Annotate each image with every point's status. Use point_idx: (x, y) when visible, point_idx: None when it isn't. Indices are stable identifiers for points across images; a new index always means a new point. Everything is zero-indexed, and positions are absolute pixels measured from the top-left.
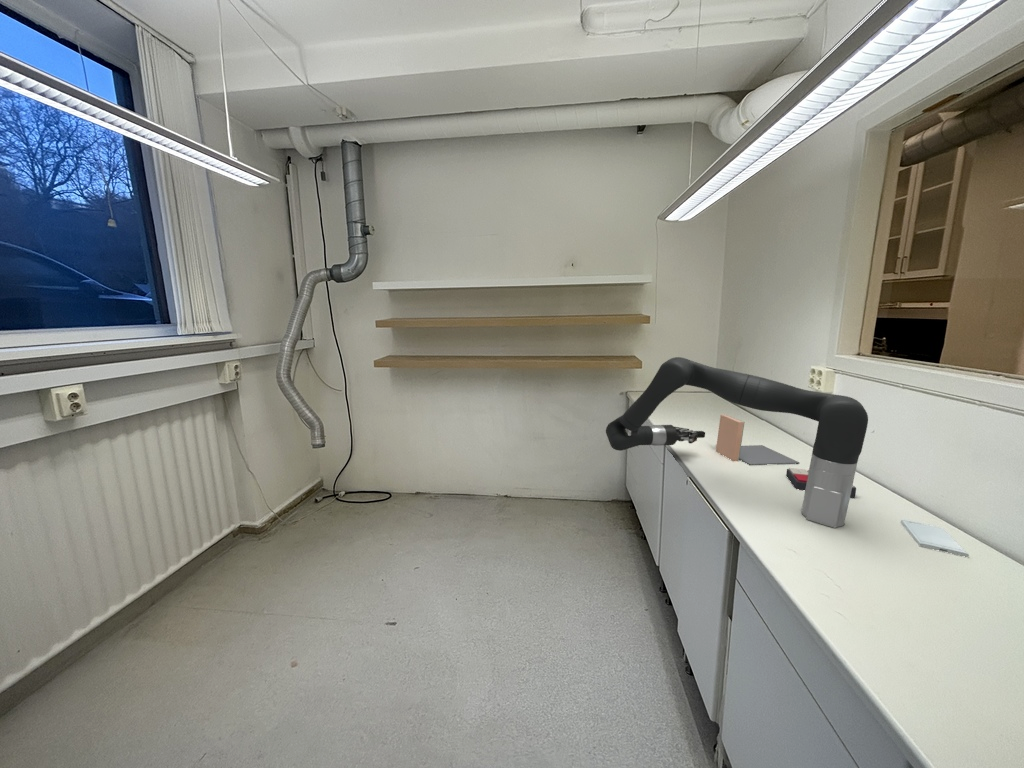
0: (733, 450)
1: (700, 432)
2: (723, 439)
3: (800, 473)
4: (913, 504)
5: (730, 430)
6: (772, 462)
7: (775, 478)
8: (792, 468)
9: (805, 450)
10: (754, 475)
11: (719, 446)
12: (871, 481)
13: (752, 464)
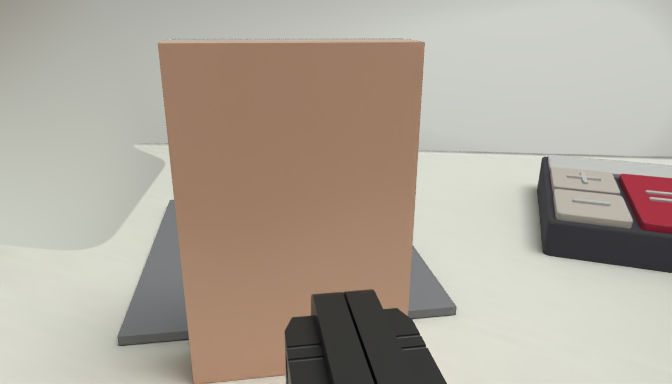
0: (397, 290)
1: (393, 335)
2: (264, 257)
3: (622, 208)
4: (610, 157)
5: (333, 151)
6: None
7: (617, 292)
8: (562, 208)
9: None
10: (641, 351)
11: (229, 330)
12: (477, 154)
13: (448, 299)
